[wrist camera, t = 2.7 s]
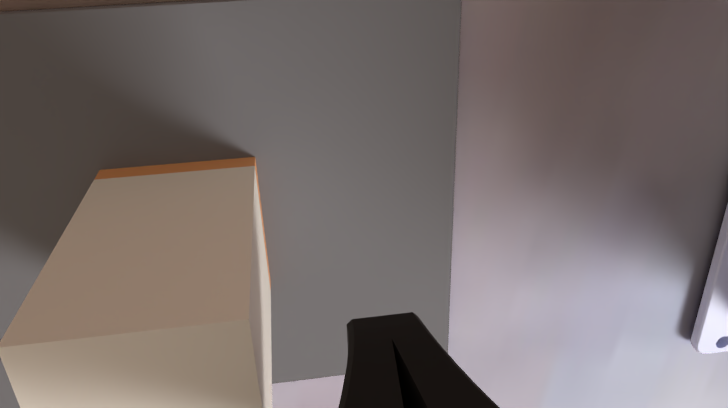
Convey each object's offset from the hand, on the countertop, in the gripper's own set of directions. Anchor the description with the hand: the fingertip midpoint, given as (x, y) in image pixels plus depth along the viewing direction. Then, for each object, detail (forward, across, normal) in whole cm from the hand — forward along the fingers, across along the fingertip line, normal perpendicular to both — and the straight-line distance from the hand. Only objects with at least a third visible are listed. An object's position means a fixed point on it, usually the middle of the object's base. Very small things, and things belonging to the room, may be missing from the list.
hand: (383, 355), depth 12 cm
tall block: (+6, +4, 0) cm, 7 cm away
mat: (+6, +6, 0) cm, 9 cm away
